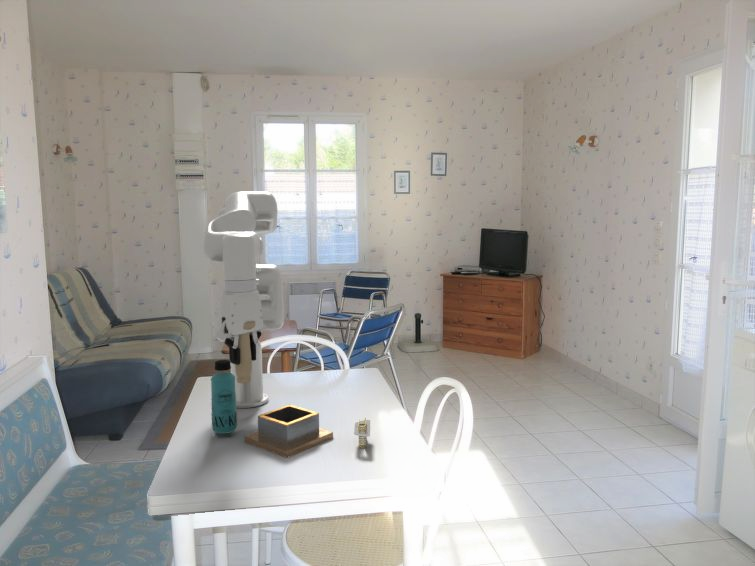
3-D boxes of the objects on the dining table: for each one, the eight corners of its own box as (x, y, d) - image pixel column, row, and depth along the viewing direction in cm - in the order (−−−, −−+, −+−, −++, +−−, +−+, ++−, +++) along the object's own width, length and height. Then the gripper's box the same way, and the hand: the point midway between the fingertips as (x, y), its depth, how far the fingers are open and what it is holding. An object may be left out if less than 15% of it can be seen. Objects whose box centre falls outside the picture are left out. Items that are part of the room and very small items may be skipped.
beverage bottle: (208, 434, 160) (204, 360, 158) (231, 428, 164) (228, 356, 162) (219, 441, 155) (215, 365, 153) (242, 434, 159) (239, 360, 157)
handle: (255, 385, 144) (253, 323, 142) (228, 385, 144) (225, 323, 142) (259, 379, 149) (257, 319, 147) (233, 379, 149) (230, 319, 147)
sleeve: (244, 441, 155) (243, 416, 154) (290, 424, 167) (290, 400, 166) (286, 457, 145) (286, 430, 144) (333, 437, 157) (332, 412, 156)
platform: (336, 461, 143) (336, 434, 142) (340, 433, 161) (340, 409, 160) (387, 461, 143) (386, 434, 142) (385, 432, 161) (385, 409, 160)
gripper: (258, 281, 152) (260, 352, 154) (200, 289, 139) (204, 366, 142) (278, 283, 147) (280, 357, 149) (219, 292, 134) (223, 372, 137)
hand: (243, 360), depth 146 cm, fingers closed on handle, 4 cm apart
